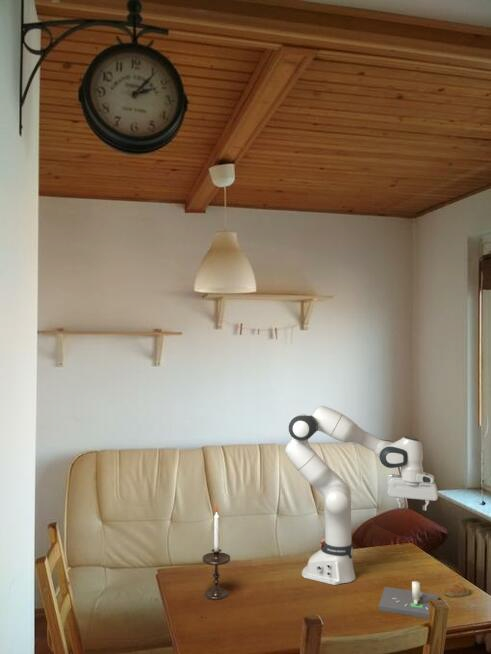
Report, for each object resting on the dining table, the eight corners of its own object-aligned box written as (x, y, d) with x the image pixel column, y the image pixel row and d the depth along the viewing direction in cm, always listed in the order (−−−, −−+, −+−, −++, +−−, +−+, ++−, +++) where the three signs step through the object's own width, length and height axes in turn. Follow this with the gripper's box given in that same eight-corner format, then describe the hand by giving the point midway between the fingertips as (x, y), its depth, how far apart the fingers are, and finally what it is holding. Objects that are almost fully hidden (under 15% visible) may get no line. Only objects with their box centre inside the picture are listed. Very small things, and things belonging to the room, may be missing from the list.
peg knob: (413, 593, 210) (413, 574, 211) (423, 595, 209) (423, 575, 209) (410, 604, 201) (410, 584, 201) (420, 606, 199) (420, 585, 200)
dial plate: (378, 610, 200) (378, 605, 200) (384, 590, 217) (384, 586, 217) (436, 619, 193) (436, 614, 193) (437, 598, 210) (437, 594, 210)
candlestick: (196, 595, 213) (197, 504, 215) (216, 586, 221) (216, 498, 223) (215, 603, 205) (216, 509, 207) (235, 594, 213) (236, 503, 215)
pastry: (453, 600, 209) (453, 590, 209) (439, 593, 215) (439, 583, 215) (470, 595, 214) (470, 585, 214) (456, 588, 220) (456, 579, 220)
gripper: (386, 475, 231) (386, 508, 230) (437, 479, 223) (437, 513, 222) (387, 472, 236) (388, 504, 236) (437, 476, 229) (438, 509, 228)
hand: (412, 509), depth 229 cm, fingers open, 8 cm apart
